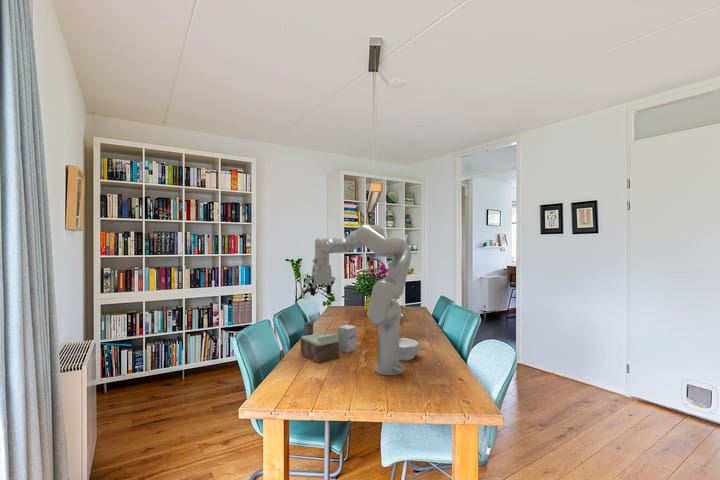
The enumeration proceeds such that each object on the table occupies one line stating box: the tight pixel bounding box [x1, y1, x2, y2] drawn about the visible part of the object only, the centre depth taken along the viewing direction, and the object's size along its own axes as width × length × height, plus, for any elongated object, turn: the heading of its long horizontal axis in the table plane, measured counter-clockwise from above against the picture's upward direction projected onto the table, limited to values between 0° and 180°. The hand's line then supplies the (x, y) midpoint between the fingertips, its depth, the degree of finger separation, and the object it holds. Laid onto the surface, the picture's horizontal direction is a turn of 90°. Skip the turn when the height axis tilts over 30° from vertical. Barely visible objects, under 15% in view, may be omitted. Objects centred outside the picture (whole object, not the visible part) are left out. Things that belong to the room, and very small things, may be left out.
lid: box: [300, 332, 339, 346], centre depth 175 cm, size 16×12×4 cm
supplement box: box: [337, 324, 357, 354], centre depth 186 cm, size 7×7×13 cm
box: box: [300, 334, 340, 365], centre depth 178 cm, size 22×12×8 cm, turn 39°
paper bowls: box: [399, 337, 420, 362], centre depth 175 cm, size 15×15×8 cm
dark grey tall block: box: [303, 321, 314, 336], centre depth 184 cm, size 3×3×10 cm
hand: (320, 294), depth 182 cm, fingers open, 9 cm apart
